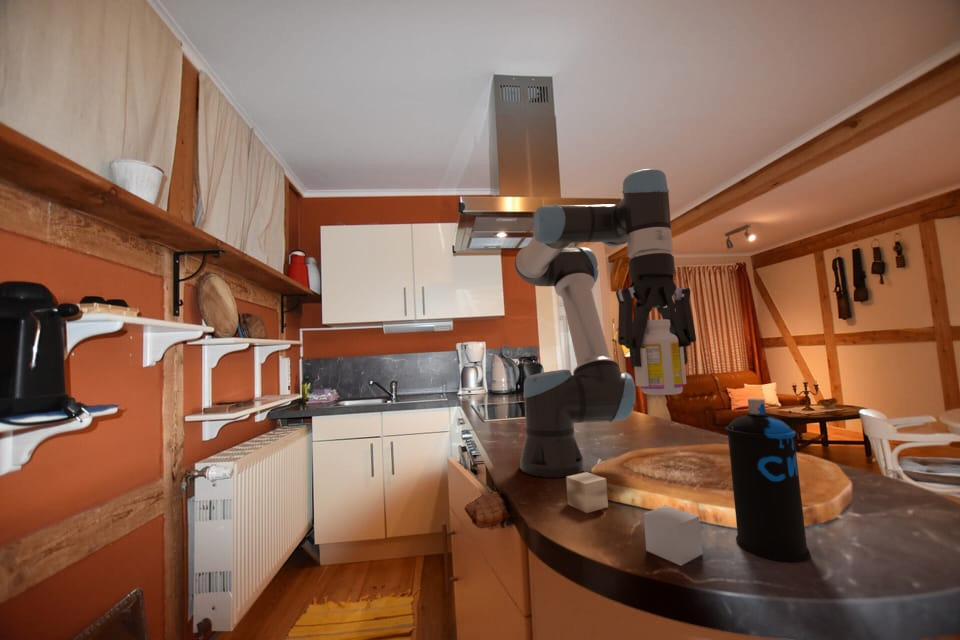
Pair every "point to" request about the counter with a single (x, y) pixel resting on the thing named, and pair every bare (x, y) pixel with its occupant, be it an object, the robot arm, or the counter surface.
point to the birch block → (587, 492)
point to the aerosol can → (766, 486)
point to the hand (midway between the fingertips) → (660, 384)
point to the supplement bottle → (662, 359)
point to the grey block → (673, 534)
